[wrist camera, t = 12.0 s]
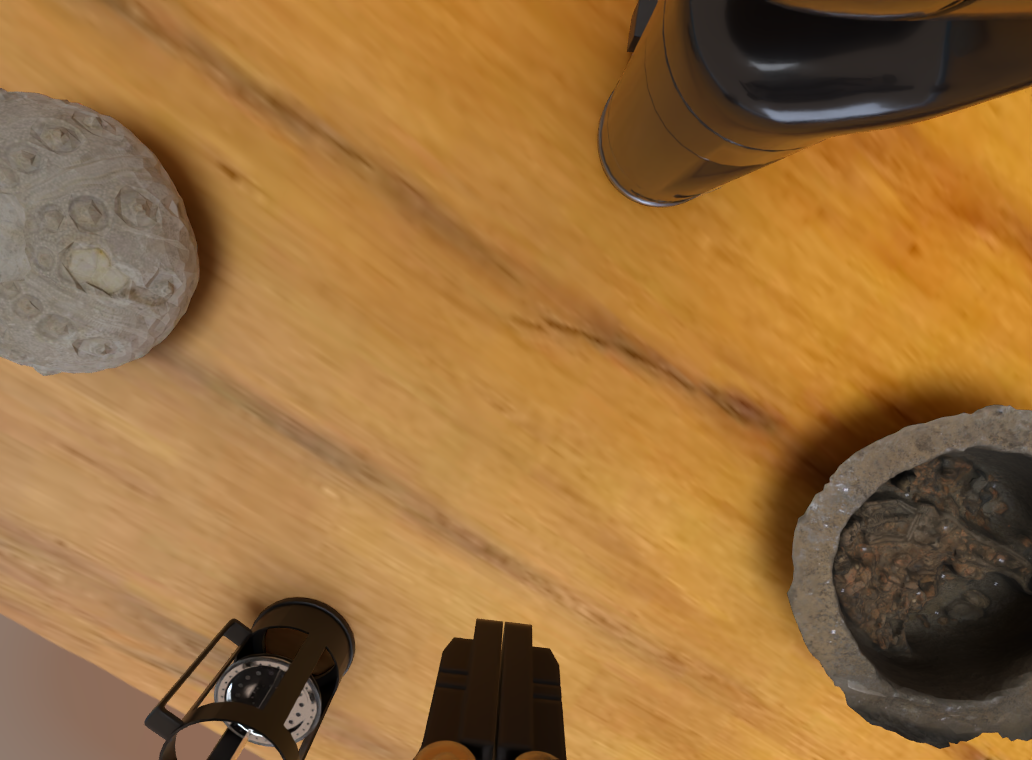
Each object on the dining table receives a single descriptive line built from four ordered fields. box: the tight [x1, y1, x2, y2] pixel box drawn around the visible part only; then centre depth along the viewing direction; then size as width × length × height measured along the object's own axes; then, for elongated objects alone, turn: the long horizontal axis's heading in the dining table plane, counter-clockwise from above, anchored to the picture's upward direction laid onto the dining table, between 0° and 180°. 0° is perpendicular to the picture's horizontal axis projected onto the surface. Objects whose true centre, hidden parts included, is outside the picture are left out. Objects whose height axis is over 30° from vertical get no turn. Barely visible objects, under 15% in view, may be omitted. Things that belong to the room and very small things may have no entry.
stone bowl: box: [787, 405, 1032, 749], centre depth 37 cm, size 25×25×9 cm
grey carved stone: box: [0, 88, 200, 376], centre depth 33 cm, size 18×18×10 cm
